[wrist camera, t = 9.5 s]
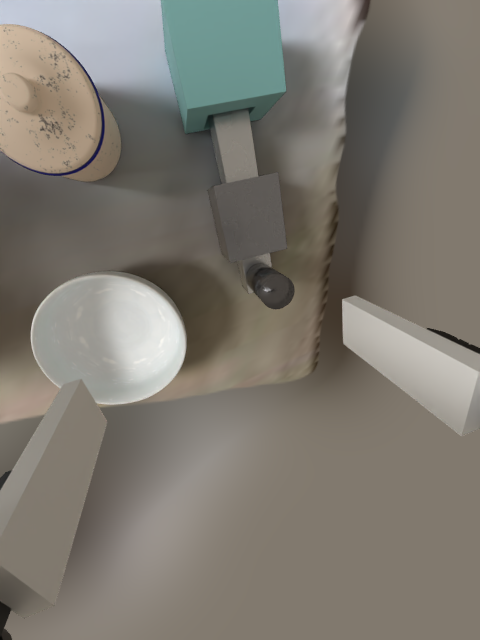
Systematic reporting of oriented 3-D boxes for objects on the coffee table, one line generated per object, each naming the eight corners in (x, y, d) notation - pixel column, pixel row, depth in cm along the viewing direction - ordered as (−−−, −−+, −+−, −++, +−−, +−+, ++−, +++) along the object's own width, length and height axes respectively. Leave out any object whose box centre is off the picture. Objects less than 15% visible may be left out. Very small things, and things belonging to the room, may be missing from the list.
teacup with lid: (121, 91, 26) (83, 14, 16) (127, 189, 30) (99, 178, 19) (-20, 63, 24) (-176, -52, 13) (5, 175, 27) (-104, 153, 17)
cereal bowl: (186, 369, 41) (188, 399, 35) (70, 377, 38) (48, 412, 31) (184, 263, 35) (185, 275, 28) (43, 260, 31) (8, 274, 25)
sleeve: (221, 254, 35) (230, 263, 29) (207, 190, 32) (213, 186, 26) (270, 242, 36) (287, 248, 30) (260, 178, 32) (278, 172, 27)
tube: (242, 286, 36) (264, 312, 27) (199, 80, 27) (211, 11, 17) (266, 280, 37) (296, 304, 27) (233, 75, 27) (261, 4, 18)
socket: (185, 133, 29) (187, 109, 22) (165, 51, 26) (160, -9, 19) (260, 119, 30) (286, 91, 23) (249, 38, 27) (275, -23, 20)
